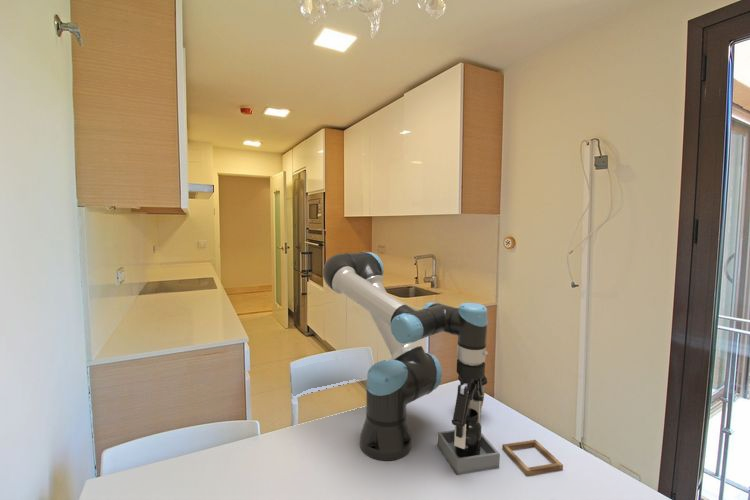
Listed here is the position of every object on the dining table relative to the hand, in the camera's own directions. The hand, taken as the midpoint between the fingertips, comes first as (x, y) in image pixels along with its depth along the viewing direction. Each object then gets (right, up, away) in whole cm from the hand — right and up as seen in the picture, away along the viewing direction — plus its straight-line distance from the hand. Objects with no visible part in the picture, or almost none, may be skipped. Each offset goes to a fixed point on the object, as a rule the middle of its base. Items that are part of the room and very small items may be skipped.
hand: (467, 433), depth 99 cm
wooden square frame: (+18, -7, 0) cm, 19 cm away
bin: (0, -7, 0) cm, 7 cm away
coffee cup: (+6, -5, +20) cm, 22 cm away
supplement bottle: (0, -6, 0) cm, 6 cm away
